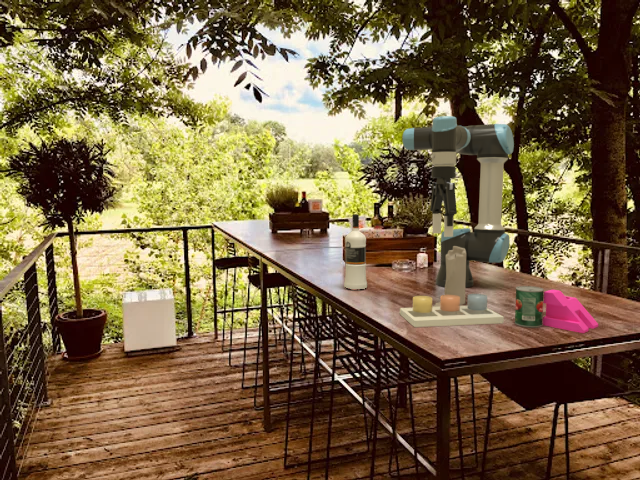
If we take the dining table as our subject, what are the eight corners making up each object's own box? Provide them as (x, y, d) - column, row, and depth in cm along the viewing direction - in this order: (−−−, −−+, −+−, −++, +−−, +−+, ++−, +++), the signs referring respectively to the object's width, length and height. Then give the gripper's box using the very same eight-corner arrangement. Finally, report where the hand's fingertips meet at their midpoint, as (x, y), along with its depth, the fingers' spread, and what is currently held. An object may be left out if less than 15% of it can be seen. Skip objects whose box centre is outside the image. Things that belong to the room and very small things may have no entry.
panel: (399, 314, 178) (399, 308, 178) (481, 310, 182) (481, 304, 182) (414, 327, 162) (414, 320, 162) (503, 323, 166) (503, 316, 166)
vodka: (371, 289, 218) (371, 214, 214) (351, 291, 213) (351, 215, 210) (359, 285, 226) (359, 213, 222) (340, 287, 222) (339, 214, 218)
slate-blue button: (464, 306, 175) (464, 294, 175) (482, 305, 176) (482, 293, 176) (472, 310, 170) (472, 298, 169) (490, 309, 170) (490, 297, 170)
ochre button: (410, 308, 173) (410, 296, 173) (428, 307, 174) (428, 295, 173) (416, 313, 167) (416, 300, 167) (434, 312, 168) (435, 299, 168)
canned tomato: (510, 321, 169) (511, 286, 167) (535, 320, 169) (536, 285, 168) (521, 328, 161) (522, 291, 160) (547, 327, 161) (548, 290, 160)
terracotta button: (437, 307, 174) (437, 295, 174) (455, 306, 175) (455, 294, 175) (444, 311, 168) (444, 299, 168) (462, 311, 169) (463, 298, 169)
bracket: (542, 325, 164) (544, 291, 163) (558, 319, 171) (559, 287, 170) (583, 333, 155) (585, 298, 154) (598, 326, 162) (600, 292, 161)
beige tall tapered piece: (428, 305, 190) (429, 248, 188) (452, 299, 199) (453, 245, 197) (445, 309, 185) (446, 250, 182) (469, 302, 193) (470, 246, 191)
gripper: (421, 166, 185) (420, 231, 188) (445, 165, 163) (443, 238, 165) (442, 166, 186) (441, 231, 189) (469, 164, 164) (467, 238, 166)
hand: (442, 234), depth 177 cm, fingers open, 10 cm apart
